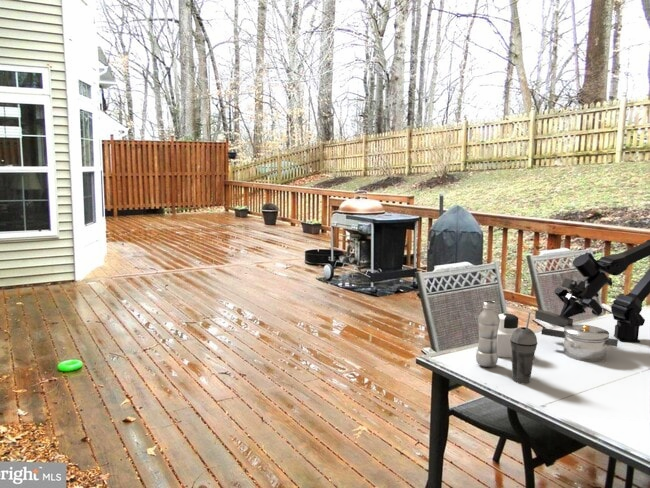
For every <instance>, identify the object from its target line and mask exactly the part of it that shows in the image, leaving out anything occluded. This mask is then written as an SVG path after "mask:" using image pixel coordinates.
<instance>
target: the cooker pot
mask: <svg viewBox="0 0 650 488" xmlns="http://www.w3.org/2000/svg"><path fill="white" fill-rule="evenodd" d="M540 335H541V336H550V337H555V338H561V339H563V350H562V351H563V355H565V356H566V357H568V358H571V359H574V360H578V361H582V362H588V363H589V362H590V363H600V362H604V361H605V360H606V358H607V350H608V348H607V347H608V346H613V347H615V348H617V346H618V343H619V342H618V341H619V340H618V339H617V338H608V339H606V340H600V341H593V340H584V339H579V338H575V337H572V336H569V335H567V334H566V333H565V332H564V330H557V329H552V328H551V329H550V328H545V327H542V329H541V334H540Z"/></svg>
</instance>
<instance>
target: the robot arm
mask: <svg viewBox="0 0 650 488" xmlns="http://www.w3.org/2000/svg"><path fill="white" fill-rule="evenodd" d="M649 256H650V239H647V240H646V241H645V242H643V243H640V244H639V245H635V246H634V247H632V248H629V249H627V250H625V251H623V252H620V253H617V254H616V253H615V254H609V255H604V256H602V257H600V258H599V259H595V257H594V256H593V254H592V253H591V252H585V253H584V254H579V256H577V257H575V258H574V259H573V261H572V265H573V267H574V268H575V269H576V270H577V272H578V273H579V274H580V275H581V276H582V277H583V278H585V279H584V280H580V279H578V280H577V281H576V280H574V279H571V278H568V277H564V279H563V282H562V283H561V285H560V286H561V287H556V288H555V289H554V291H553V293H554V294H555V296H556V297H557V298H558V299H559V300H560V301H561V303H563V306H562V309H561V311H560V314H559V315H561V316H564V317H568V318H572V317H574V316H577V315H580V314H586V312H587V311H586V310H588V309H591V314H592V315H594V316H597V317H599V316H600V315H601V314H602V313H603V307H602V305H600V303H599V302H598V301H597V300H596V299H594V297H595V298H598V297H599V292H600V290H601V289H602V288H603V287H604V286H605V285H607V286H609V287H613V278H612V277H609V276H608V275H611V276H615V277H616V276H619V275H621V274H623V273H624V272H625V271H627V269H628V267H630V265H632V264H634V263H636V262H638V261H641V260H643V259H645V258H647V257H649ZM567 289H568V290H567ZM649 295H650V268H649V269H648V270H647V271H646V273H645V274H644V275H643V276H642V277H641V279H639V281H638V282H637V283H636V285H634V287H632V289H631V290H630V292H629V293H628V294H622V293H620V294H618V296H617V297H616V298H615V300H613V301H612V305H611V306H610V309H611V310H610V311H611V314H612V316H613V320H614V321H616V324H615V325H614V334H613V337H615V339H617V340H618V341H620V342H629V343H641V341H640V339H639V334H640V333H639V332H640V327H641V326H644V324H645V321H646V320H645V318H644V317H643V316H642V314H641V312H642V311H643V302H644V301H645V299H646V298H647V297H648V296H649Z"/></svg>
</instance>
